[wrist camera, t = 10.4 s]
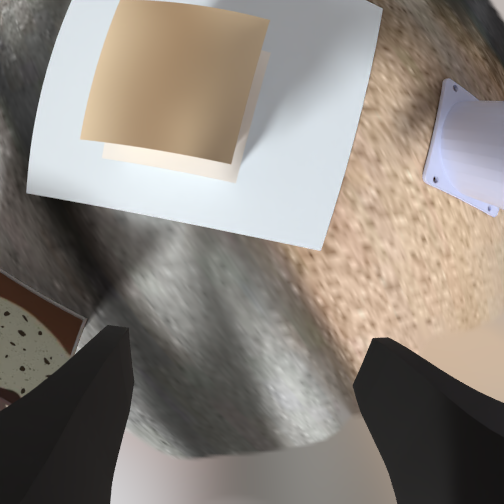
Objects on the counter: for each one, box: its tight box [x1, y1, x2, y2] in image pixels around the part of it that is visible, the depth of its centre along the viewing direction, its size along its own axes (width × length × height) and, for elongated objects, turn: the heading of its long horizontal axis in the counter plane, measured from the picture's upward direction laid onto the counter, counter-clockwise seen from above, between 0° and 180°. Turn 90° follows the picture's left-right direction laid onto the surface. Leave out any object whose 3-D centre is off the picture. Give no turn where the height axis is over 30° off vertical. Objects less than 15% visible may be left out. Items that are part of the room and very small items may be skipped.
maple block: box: [80, 0, 270, 164], centre depth 9 cm, size 4×4×4 cm
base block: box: [102, 50, 271, 183], centre depth 13 cm, size 6×6×3 cm
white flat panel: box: [26, 0, 383, 251], centre depth 14 cm, size 18×16×1 cm
